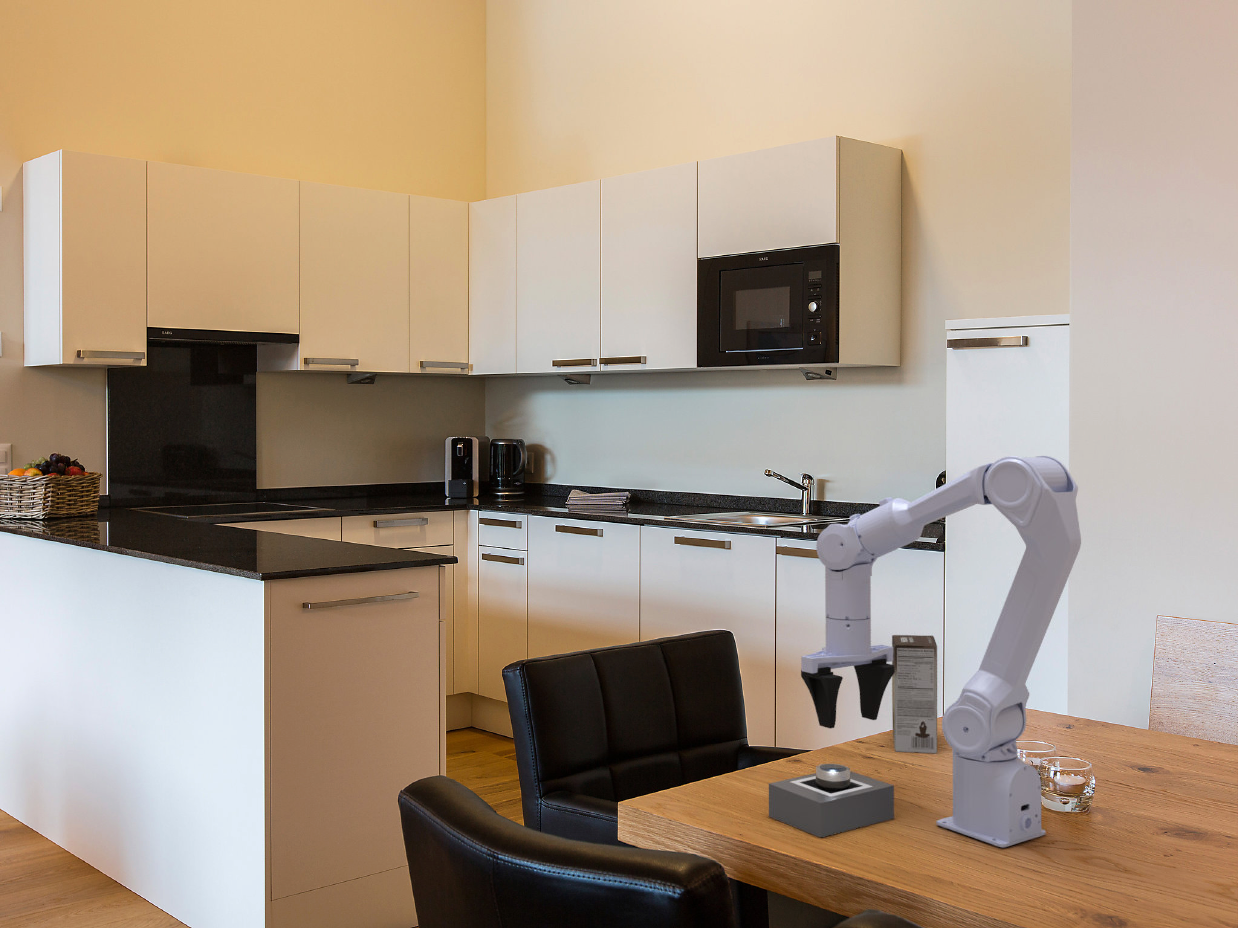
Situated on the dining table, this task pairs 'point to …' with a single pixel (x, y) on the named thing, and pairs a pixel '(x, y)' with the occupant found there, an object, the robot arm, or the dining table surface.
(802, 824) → the grey hollow block
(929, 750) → the coffee box
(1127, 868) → the dining table surface
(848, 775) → the lens
